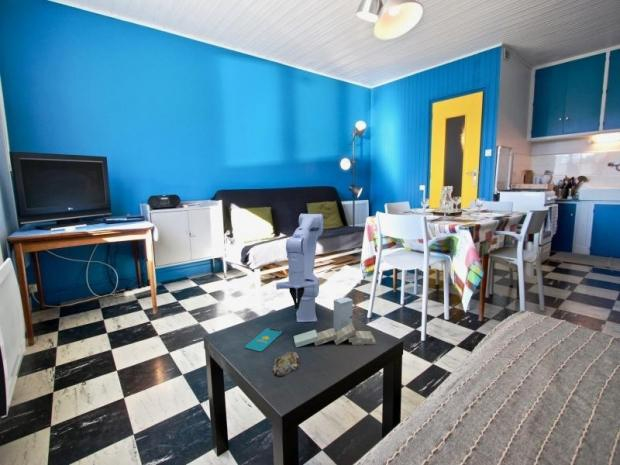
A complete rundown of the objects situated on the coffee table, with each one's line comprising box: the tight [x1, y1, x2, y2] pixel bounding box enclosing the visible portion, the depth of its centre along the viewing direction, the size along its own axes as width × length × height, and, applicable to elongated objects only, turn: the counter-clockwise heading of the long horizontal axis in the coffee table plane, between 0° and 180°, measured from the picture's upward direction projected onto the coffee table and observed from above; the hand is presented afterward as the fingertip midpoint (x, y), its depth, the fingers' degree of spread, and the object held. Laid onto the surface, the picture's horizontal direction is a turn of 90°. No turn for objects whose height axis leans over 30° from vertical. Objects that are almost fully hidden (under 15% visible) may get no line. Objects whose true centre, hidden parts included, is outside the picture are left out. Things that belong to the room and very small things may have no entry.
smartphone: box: [244, 327, 284, 353], centre depth 109 cm, size 7×1×15 cm
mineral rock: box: [271, 351, 301, 378], centre depth 93 cm, size 11×4×8 cm
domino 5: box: [351, 334, 377, 346], centre depth 107 cm, size 2×5×8 cm
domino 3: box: [333, 322, 357, 346], centre depth 107 cm, size 2×5×8 cm
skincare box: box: [333, 296, 354, 332], centre depth 114 cm, size 6×4×12 cm
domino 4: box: [347, 330, 373, 343], centre depth 107 cm, size 2×5×8 cm
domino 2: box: [313, 327, 337, 347], centre depth 107 cm, size 2×5×8 cm
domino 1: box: [293, 329, 319, 348], centre depth 106 cm, size 2×5×8 cm
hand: (296, 307), depth 110 cm, fingers closed
